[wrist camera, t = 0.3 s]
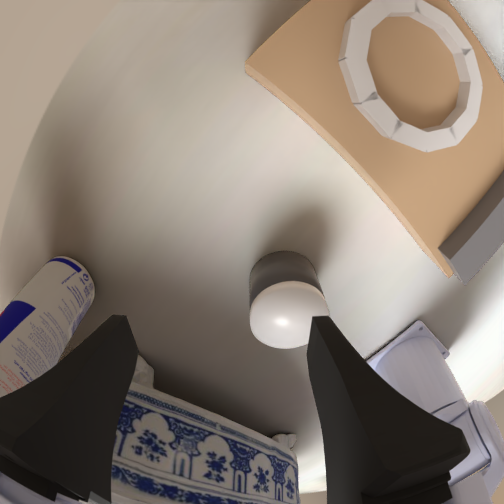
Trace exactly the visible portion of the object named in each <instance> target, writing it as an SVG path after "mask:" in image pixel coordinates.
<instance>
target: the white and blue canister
mask: <svg viewBox="0 0 504 504" xmlns="http://www.w3.org/2000/svg"><path fill="white" fill-rule="evenodd" d="M94 296H95V288H94V284H93V281H92V279H91V277H90V275H89V273H88V271H87V270H86V269H85V267H84V266H83V265H81V264H80V263H79V262H77V261H76V260H73V259H71V258H69V257H65V256H57V257H54V258H52V259H51V260H50V261H48V262H47V263H46V264H45V265H44V266H43V267H42V268H41V269H40V270H39V271H38V272H37V274H36V275H35V276H34V277H33V278H32V279H31V280H30V281H29V282H28V283H27V284H26V285H25V286H24V288H23V289H22V290H21V291H20V292H19V293H18V294H17V295H16V297H15V298H14V299H13V300H12V301H11V302H10V304H9V305H8V306H7V307H6V308H5V310H4V311H3V312H2V313H1V314H0V397H2V396H5V395H7V394H9V393H11V392H13V391H15V390H17V389H19V388H21V387H23V386H25V385H26V384H28V383H30V382H31V381H33V380H35V379H36V378H38V377H40V376H41V375H43V374H44V373H45V372H47V371H48V370H50V369H51V368H52V367H54V366H55V365H56V364H57V362H58V360H59V358H60V356H61V355H62V353H63V351H64V349H65V347H66V346H67V344H68V342H69V340H70V339H71V337H72V335H73V334H74V332H75V330H76V329H77V327H78V325H79V324H80V322H81V320H82V319H83V317H84V315H85V314H86V312H87V311H88V309H89V307H90V306H91V304H92V302H93V300H94Z"/></svg>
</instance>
